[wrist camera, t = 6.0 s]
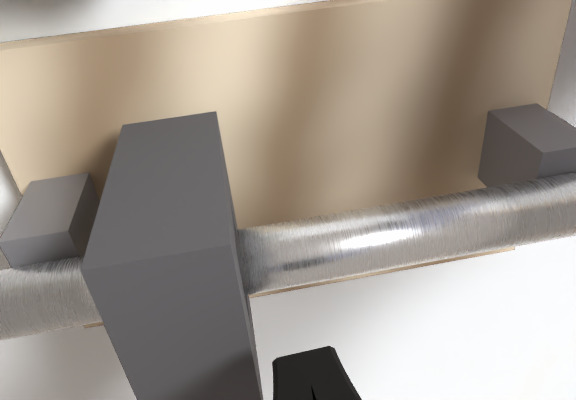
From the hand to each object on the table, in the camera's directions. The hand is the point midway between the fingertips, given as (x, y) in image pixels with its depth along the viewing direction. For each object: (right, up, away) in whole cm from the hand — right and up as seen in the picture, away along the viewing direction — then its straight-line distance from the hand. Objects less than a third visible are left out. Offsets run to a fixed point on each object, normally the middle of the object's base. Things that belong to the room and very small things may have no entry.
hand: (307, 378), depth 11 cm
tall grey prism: (-4, +4, +6) cm, 8 cm away
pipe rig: (0, +6, +8) cm, 10 cm away
